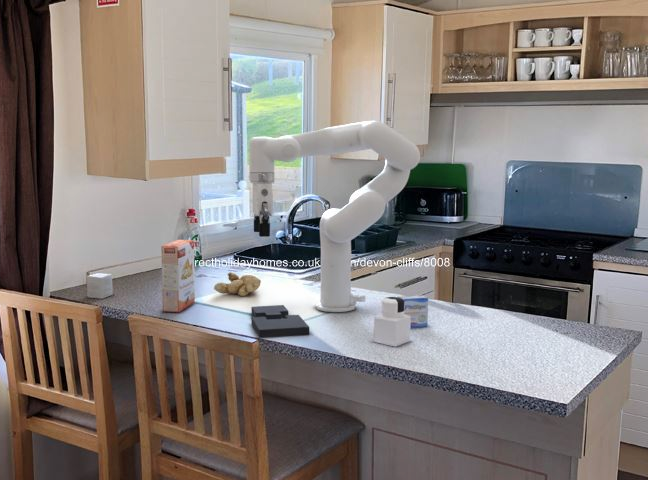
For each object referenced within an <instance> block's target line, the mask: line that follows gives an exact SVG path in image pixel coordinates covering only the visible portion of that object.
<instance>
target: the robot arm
mask: <svg viewBox="0 0 648 480" xmlns="http://www.w3.org/2000/svg"><path fill="white" fill-rule="evenodd" d="M248 149H249V150H248V151H249V156H248V157H249V160H248V161H249V163H248V165H249V169H248V170H249V175H248V177H249V184H252V212H253V232H254V233H258V237H261V238H263V237H264V238H265V237H266V238H267V237H268V238H269V237H271V220H270V217H273V216H274V196H273V195H274V194H273V185H272V184H275V162H283V163H291V162H295V161H296V160H297V159H302V158H308V157H314V156H315V157H316V156H327V157H329V156H338V155H343V154H348V153H349V154H350V153H354V152H360V151H365V150H366V151H367V150H372V151H373V152H375V153H376V154H378V155H379V156H380V157H382V158H383V159H385V164H384V167H383V168H382V171H381V172H380V173H379V174H377V176H375V177H374V178H373V179H372V180H370V181H369V182H367V183H366V184H364V185H363V186H362V187H360V188H359V189H357V190H355V192H353V193H352V194H351V196H350V197H349V200H348V204H346V205H345V206H343V207H342V208H338V207H334V208H329V209H327V210H326V211H324V213H323V214H322V216H321V218H320V220H319V241H320V301H318V302H316V303H315V309H316V310H317V311H322V312H327V313H347V312H350V311H353V310H356V303H358V302H359V303H361V302H362V303H363V302H366V295H360V294H353V293H352V292H351V291H352V290H351V289H352V283H351V282H352V240H354V239H355V238H357V237H358V236H359V235H361V234H362V233H364V232H365V231H366V230H367V229H369V228H370V227H371V226H373V225H375V223H376V222H378V221H379V220H380V219H381V218H382V216H383V215H384V214H385V213H384V212H385V210H386V204H387V203H389V202H390V201H391V200H392V199H394V198H395V197H396V196H398V195H399V194H400V193H401V192H402V190H403V189H404V188H405V187H406V185H407V183H408V181H409V178H410V174H411V170H413V169H415V168H416V167H417V166H418V165H419V163H420V160H421V153H420V149H419V147H418V146H417V145H416V144H415V143H413V142H412V141H410V140H409V139H407V138H406V137H405V136H403V135H401V134H400V133H399V132H397V131H396V130H394V129H392V127H390V126H389V125H387V124H386V123H384V122H382V121H380V120H365V121H360V122H359V121H358V122H354V123H348V124H347V123H346V124H341V125H335V126H330V127H325V128H321V129H318V130H313V131H306V132H301V133H296V134H289V135H284V136H279V137H276V138H275V137H274V138H273V137H269V136H253V137H251V138H250V140H249V147H248Z"/></svg>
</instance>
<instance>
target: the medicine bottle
mask: <svg viewBox="0 0 648 480" xmlns="http://www.w3.org/2000/svg"><path fill="white" fill-rule="evenodd" d="M399 297H400V296H387V297H384V298H382V299H381V308H380V309H381V314H379V315H378V314H377V315H376V316H374V322H373V323H374V326H373V331H374V332H373V342H374V343H378V344H381V345H387V346H391V347H395V348H397V347H399V346H402V345H404V344H406V343H408V342H411V328H410V324H411V316H409V315H404V300H403V299H401V298H399Z"/></svg>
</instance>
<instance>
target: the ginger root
mask: <svg viewBox="0 0 648 480" xmlns="http://www.w3.org/2000/svg"><path fill="white" fill-rule="evenodd" d="M227 278H228V281H229V282H230V283H226V282H218V283H216V284H214V287H213V289H214V291H216V292H217V293H218V294H223V295H225V294H227V295H229V294H231V295H232V294H233V295H234V294H235V295H239V296H241V297H244V296H248V294H249V293H252V292H256V291H257V290H259V288H260V286H261V284H262V283H261V282H262V281H261V279H260V278H258V277H256V276H254V275H252V274H243V275H242V276H241V277H239V275H237V274H236V273H234V272H231V271H230V272H228V273H227Z"/></svg>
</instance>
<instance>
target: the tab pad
mask: <svg viewBox="0 0 648 480" xmlns="http://www.w3.org/2000/svg"><path fill="white" fill-rule="evenodd" d="M251 315H252V317H266V319H267V320H269V319H285V315H290V314H289V310H288V308H287V307H286V306H285V305H284V304H276V305H275V304H274V305H258V306H251Z"/></svg>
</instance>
